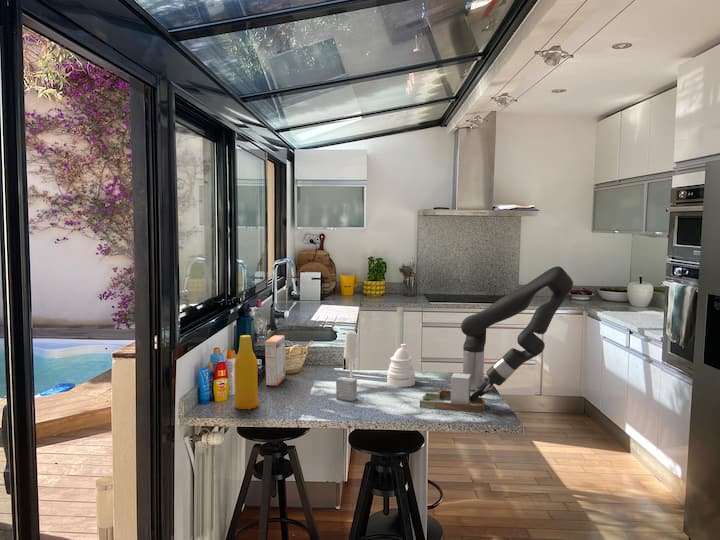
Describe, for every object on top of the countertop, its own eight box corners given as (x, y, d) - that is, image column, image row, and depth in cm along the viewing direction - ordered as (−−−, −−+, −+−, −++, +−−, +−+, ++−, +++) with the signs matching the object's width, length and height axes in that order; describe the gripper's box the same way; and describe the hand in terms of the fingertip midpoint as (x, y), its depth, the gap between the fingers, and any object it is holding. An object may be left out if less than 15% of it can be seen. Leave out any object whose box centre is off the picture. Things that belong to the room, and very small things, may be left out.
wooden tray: (427, 394, 242) (427, 388, 242) (485, 399, 235) (485, 393, 235) (419, 406, 226) (419, 400, 225) (482, 412, 219) (482, 406, 218)
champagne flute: (360, 385, 256) (360, 333, 254) (345, 386, 254) (345, 334, 252) (355, 381, 263) (355, 331, 261) (342, 382, 261) (342, 331, 259)
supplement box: (468, 409, 222) (469, 378, 221) (450, 407, 224) (450, 377, 223) (470, 404, 229) (471, 373, 228) (452, 402, 231) (453, 372, 230)
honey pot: (396, 377, 269) (396, 341, 267) (419, 382, 261) (420, 344, 260) (381, 383, 258) (382, 345, 257) (405, 388, 251) (405, 349, 249)
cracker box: (273, 377, 269) (273, 334, 267) (285, 378, 268) (285, 335, 266) (264, 385, 255) (264, 340, 253) (277, 386, 254) (277, 341, 253)
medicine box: (357, 398, 236) (357, 378, 236) (352, 401, 232) (352, 381, 232) (340, 396, 240) (340, 376, 239) (335, 399, 236) (335, 379, 235)
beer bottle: (250, 411, 220) (249, 339, 218) (230, 408, 223) (229, 337, 221) (262, 404, 229) (261, 334, 227) (242, 401, 232) (241, 333, 230)
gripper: (507, 383, 213) (476, 412, 218) (508, 372, 226) (479, 400, 231) (492, 369, 214) (462, 398, 219) (494, 359, 227) (465, 388, 232)
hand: (471, 399), depth 225 cm, fingers closed
